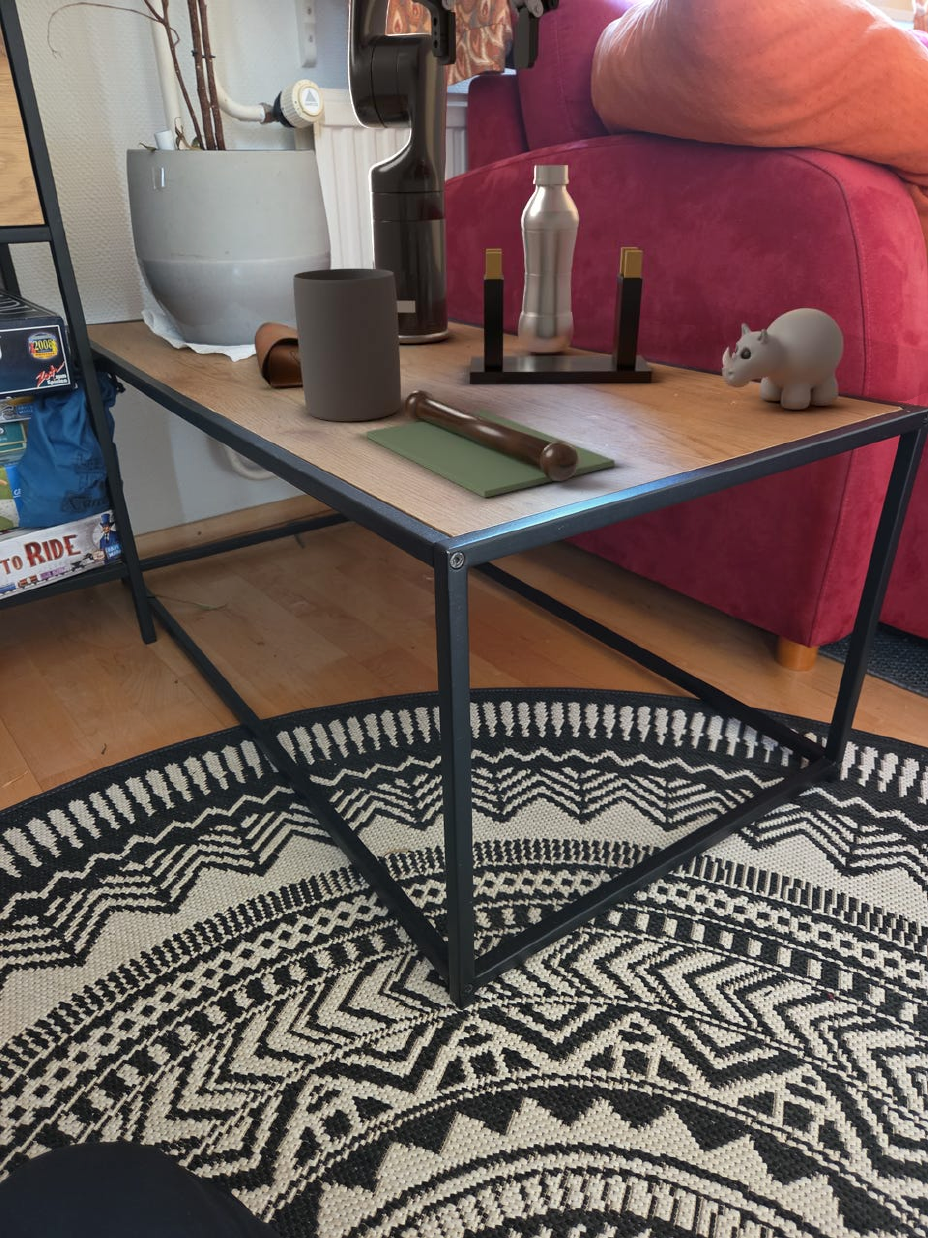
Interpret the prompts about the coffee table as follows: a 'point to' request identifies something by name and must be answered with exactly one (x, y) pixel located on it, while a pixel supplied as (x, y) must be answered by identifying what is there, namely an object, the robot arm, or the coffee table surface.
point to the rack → (564, 368)
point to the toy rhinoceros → (789, 359)
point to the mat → (474, 456)
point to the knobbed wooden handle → (495, 435)
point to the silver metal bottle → (548, 263)
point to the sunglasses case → (278, 355)
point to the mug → (348, 343)
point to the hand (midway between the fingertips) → (486, 66)
